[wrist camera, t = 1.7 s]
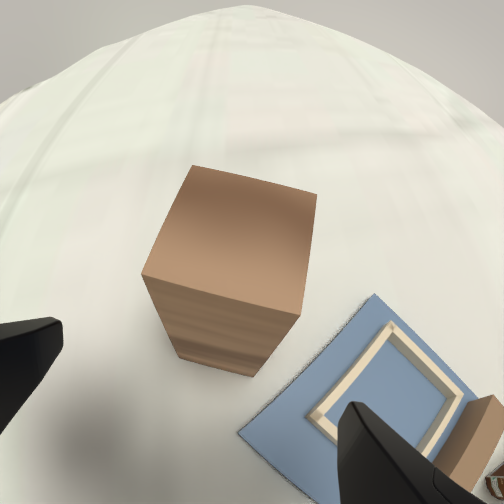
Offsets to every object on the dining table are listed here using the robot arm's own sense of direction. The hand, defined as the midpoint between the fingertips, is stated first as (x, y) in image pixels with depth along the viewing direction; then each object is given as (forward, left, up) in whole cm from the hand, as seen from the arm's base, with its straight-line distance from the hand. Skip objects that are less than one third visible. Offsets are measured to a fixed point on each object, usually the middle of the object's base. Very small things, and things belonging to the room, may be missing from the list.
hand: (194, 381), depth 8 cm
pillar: (+4, +3, -12) cm, 13 cm away
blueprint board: (+7, -11, -12) cm, 18 cm away
